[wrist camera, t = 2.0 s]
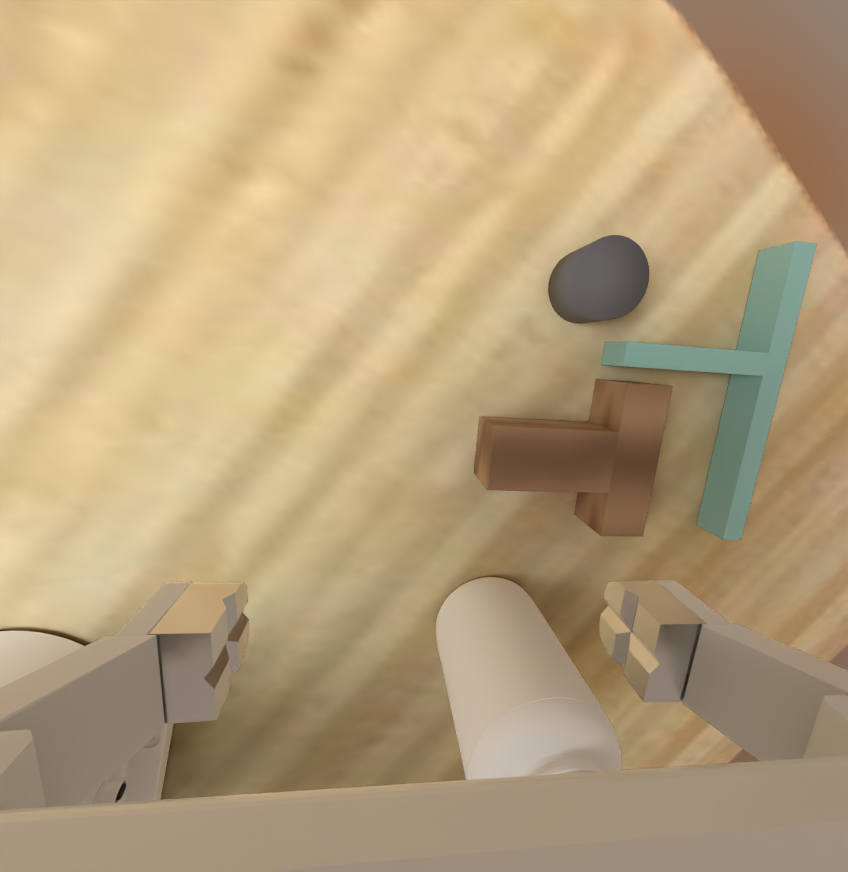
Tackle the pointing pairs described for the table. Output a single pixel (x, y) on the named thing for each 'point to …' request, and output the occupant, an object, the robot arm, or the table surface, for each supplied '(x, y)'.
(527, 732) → the pill bottle
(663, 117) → the table surface
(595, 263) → the grey rounded lump
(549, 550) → the table surface
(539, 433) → the t block
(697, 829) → the robot arm
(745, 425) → the rail
